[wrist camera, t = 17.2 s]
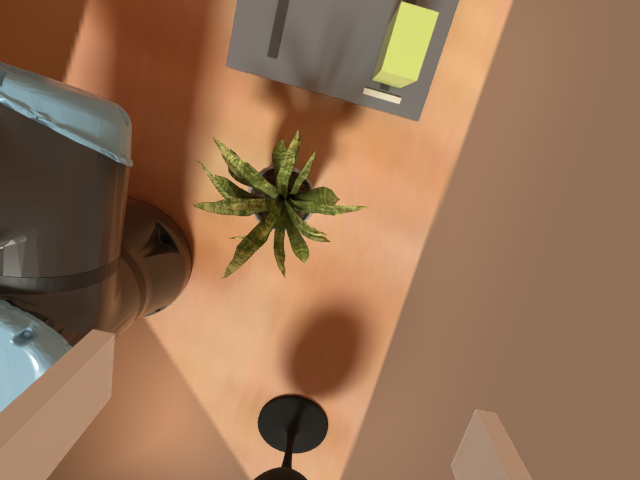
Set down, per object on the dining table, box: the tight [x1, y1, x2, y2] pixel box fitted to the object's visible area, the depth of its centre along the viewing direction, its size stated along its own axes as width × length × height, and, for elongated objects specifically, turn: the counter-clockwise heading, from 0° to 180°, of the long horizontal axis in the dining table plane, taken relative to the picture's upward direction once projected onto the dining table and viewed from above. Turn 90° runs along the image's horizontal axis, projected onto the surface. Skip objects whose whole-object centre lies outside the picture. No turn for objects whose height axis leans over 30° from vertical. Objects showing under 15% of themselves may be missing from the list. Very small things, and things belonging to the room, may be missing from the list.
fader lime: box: [372, 1, 439, 88], centre depth 34 cm, size 3×5×9 cm, turn 165°
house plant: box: [191, 129, 365, 279], centre depth 38 cm, size 14×14×16 cm
